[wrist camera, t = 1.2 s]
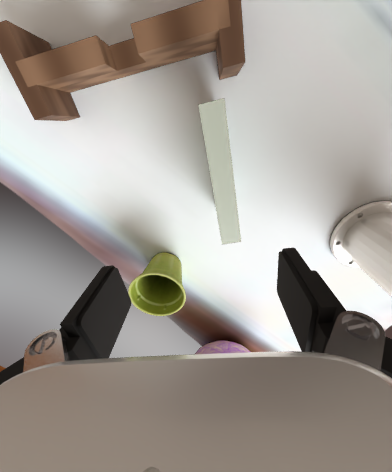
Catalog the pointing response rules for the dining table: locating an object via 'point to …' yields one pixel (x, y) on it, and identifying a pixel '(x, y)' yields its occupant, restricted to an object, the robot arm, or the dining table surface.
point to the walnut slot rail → (120, 54)
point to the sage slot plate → (220, 168)
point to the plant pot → (159, 286)
